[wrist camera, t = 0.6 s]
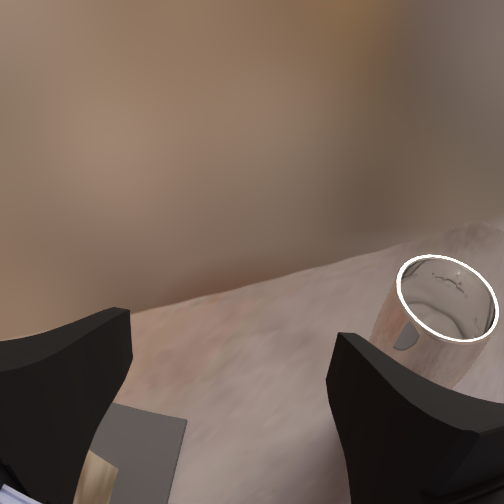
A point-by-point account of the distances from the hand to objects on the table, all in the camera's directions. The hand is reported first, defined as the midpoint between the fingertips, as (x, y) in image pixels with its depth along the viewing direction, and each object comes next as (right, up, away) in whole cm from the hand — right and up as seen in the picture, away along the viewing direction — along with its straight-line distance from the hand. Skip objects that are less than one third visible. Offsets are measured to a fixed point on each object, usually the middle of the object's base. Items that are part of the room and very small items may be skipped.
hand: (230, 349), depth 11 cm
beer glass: (+11, -11, +13) cm, 21 cm away
